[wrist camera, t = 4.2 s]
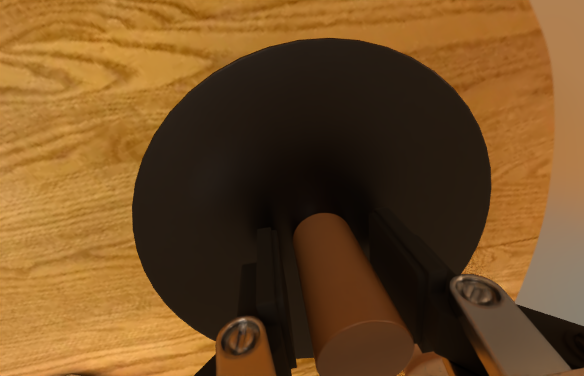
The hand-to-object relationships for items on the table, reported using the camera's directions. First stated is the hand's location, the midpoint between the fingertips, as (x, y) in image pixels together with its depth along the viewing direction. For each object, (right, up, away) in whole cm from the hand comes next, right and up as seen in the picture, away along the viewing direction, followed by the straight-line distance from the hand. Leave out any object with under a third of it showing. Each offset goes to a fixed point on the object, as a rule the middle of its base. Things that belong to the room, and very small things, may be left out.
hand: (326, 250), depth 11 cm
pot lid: (0, +1, +1) cm, 1 cm away
